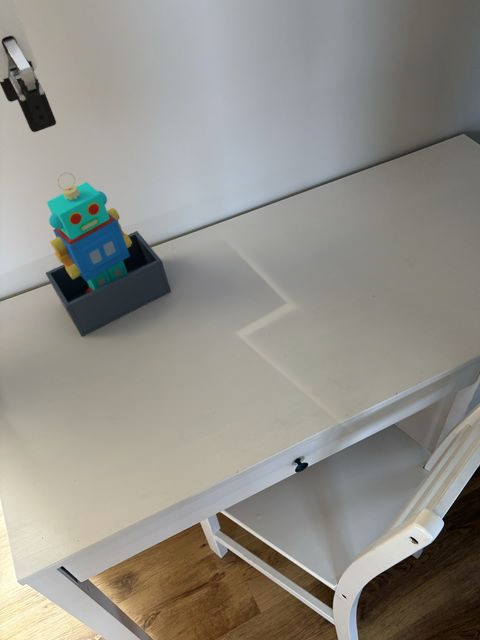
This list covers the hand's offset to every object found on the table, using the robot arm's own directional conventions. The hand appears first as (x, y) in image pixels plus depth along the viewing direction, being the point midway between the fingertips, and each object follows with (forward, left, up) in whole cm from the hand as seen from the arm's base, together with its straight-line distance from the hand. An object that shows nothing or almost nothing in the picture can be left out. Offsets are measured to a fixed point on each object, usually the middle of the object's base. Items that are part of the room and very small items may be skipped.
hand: (31, 112), depth 69 cm
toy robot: (+1, 0, -35) cm, 35 cm away
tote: (+1, 0, -35) cm, 35 cm away
